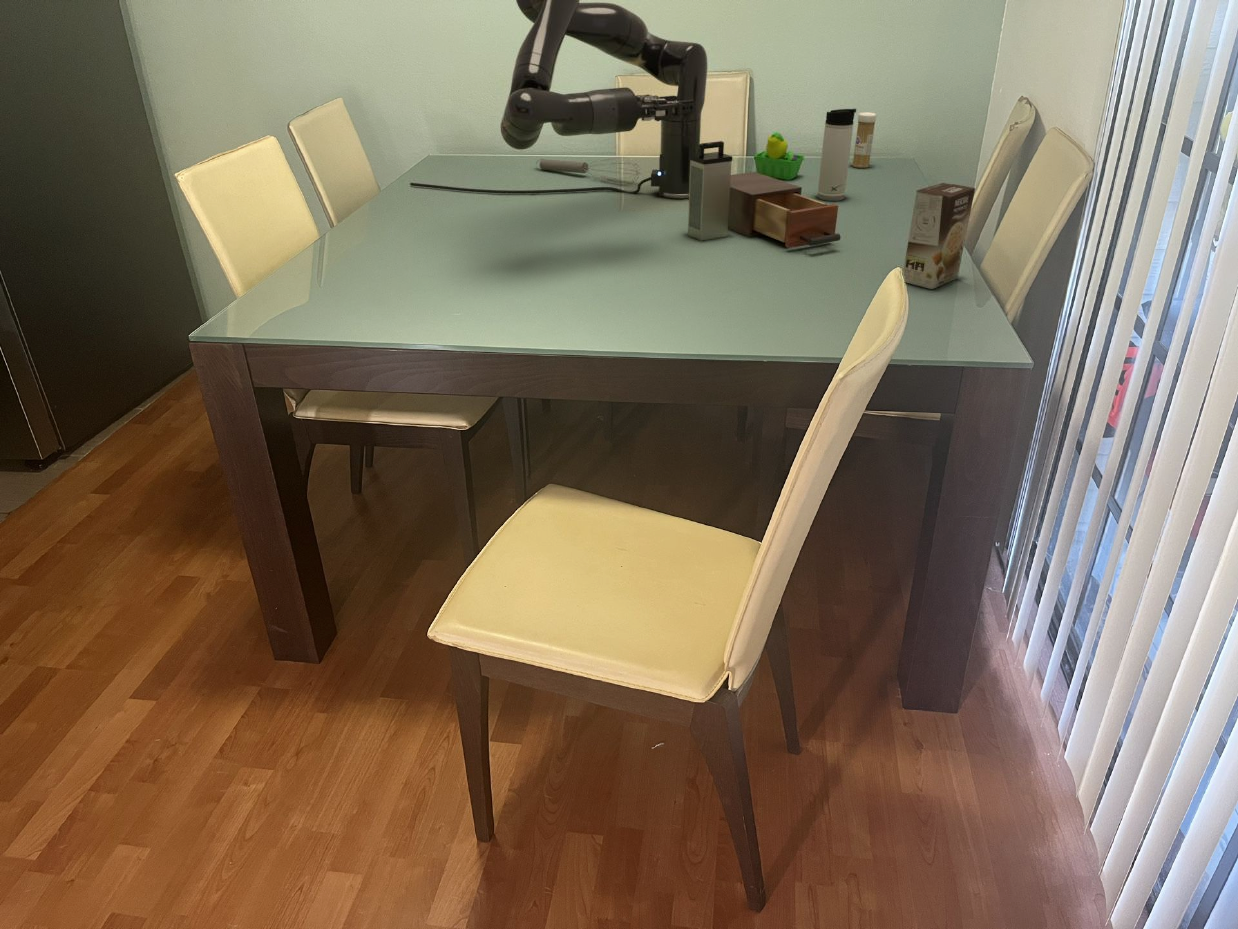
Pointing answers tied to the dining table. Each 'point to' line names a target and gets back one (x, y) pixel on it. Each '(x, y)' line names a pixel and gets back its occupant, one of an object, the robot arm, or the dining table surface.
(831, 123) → the travel mug
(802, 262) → the dining table surface
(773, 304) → the dining table surface
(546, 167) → the kitchen whisk
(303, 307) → the dining table surface
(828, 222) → the drawer
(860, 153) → the sprinkles bottle
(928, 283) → the coffee box
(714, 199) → the grater
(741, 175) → the cabinet
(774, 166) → the fruit basket
